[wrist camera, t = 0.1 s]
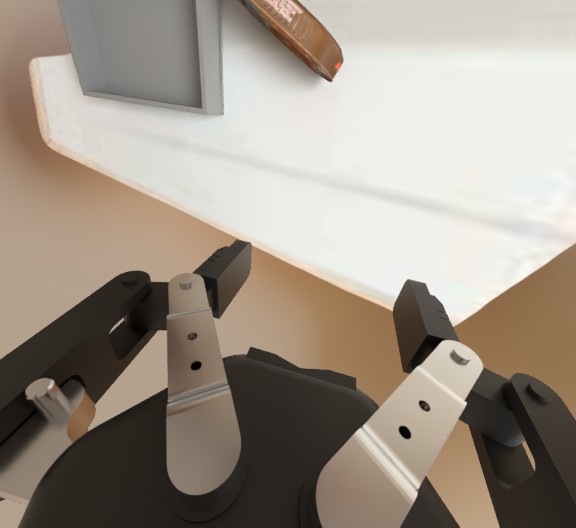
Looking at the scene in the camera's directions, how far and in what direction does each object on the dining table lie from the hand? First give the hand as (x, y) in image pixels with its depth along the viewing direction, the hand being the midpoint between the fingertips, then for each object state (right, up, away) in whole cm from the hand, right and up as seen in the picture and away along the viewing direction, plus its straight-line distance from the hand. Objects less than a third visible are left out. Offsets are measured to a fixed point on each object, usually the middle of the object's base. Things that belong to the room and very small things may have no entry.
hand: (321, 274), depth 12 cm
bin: (-20, +32, +22) cm, 44 cm away
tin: (-1, +30, +18) cm, 35 cm away
